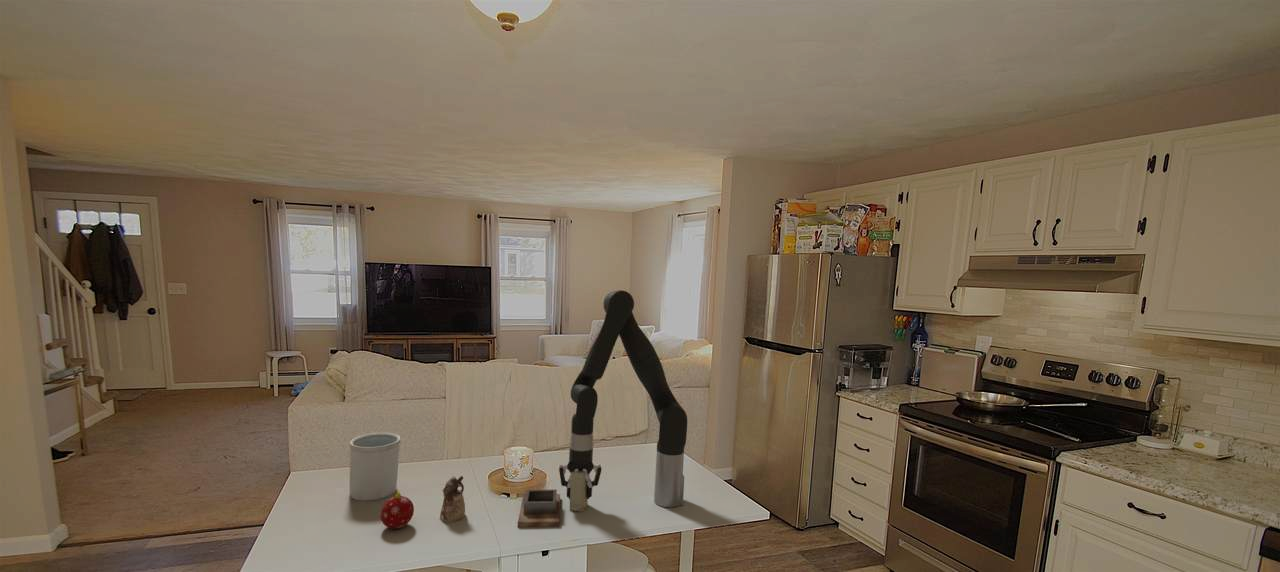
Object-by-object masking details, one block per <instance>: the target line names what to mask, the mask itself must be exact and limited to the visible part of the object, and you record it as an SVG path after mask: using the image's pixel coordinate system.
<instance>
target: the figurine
mask: <svg viewBox="0 0 1280 572" xmlns="http://www.w3.org/2000/svg"><path fill="white" fill-rule="evenodd" d="M463 479H464V476H463V475H461V476H459V478H457V477H455V476H451V477H450V478H449V479H447V481H446V483H445V487H444V488H443V489H442V493H443V502H442V505H441V509H440V515H439V520H440V521H442V522H444V521H445V522H444V523H450V522H451V523H452V522H453V521H454V522H456V521H459V520H462V519H463V518H464V517H465V515H466V514H465V513H466V503H465V498H464V494H463V493H464V490H465V487H464V484H463V482H462V481H463ZM458 488H461V489H460V490H459V489H458Z"/></svg>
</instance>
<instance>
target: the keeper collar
mask: <svg viewBox="0 0 1280 572" xmlns="http://www.w3.org/2000/svg"><path fill="white" fill-rule="evenodd" d="M525 491H526V492H525V494H526V495H525V500H524V512H523V515H529V514H556V495H557V494H558V493H557V492H558V491H557V489H526V490H525Z"/></svg>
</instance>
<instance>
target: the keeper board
mask: <svg viewBox="0 0 1280 572" xmlns="http://www.w3.org/2000/svg"><path fill="white" fill-rule="evenodd" d="M525 495H526V493H525V494H524V493H523V495H522V500H521V505H520V509H519V515H518V520H517V528H543V527H544V528H545V527H549V528H550V527H551V528H552V527H560V513H561V511H560V509H561V508H560V507H561V494H560V493H557V495H556V514H529V515H523V512H524V500H525Z"/></svg>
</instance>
